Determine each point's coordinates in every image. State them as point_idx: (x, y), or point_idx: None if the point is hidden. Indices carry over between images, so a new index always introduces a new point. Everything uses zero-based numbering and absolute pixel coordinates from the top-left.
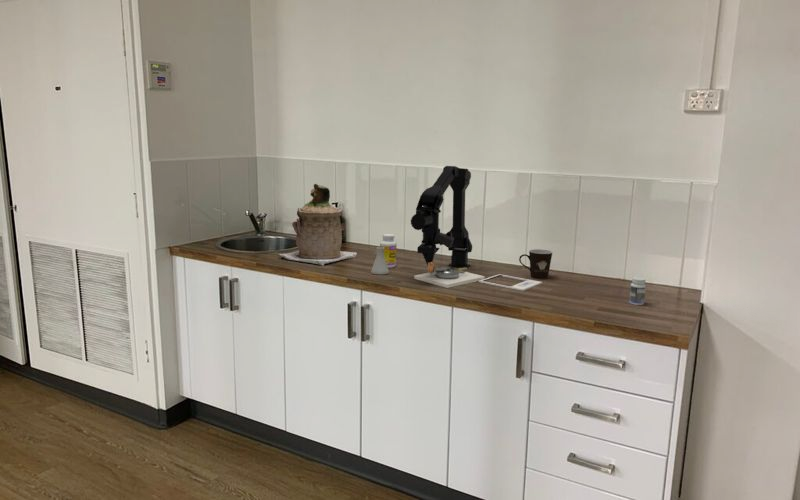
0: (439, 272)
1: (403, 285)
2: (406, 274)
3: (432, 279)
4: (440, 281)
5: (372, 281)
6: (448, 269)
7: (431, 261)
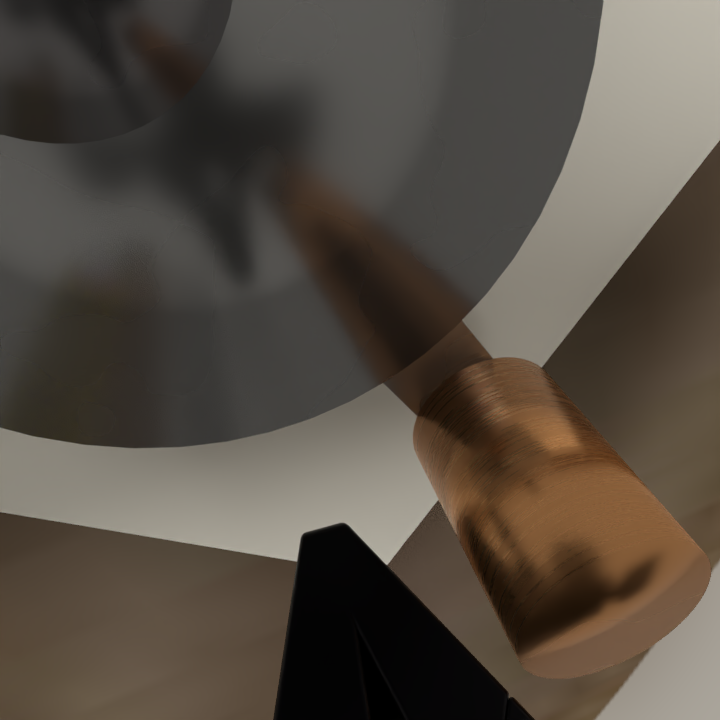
0: (521, 222)
1: (712, 479)
2: (169, 689)
3: (565, 264)
4: (709, 54)
5: (585, 702)
6: (209, 14)
7: (465, 660)
